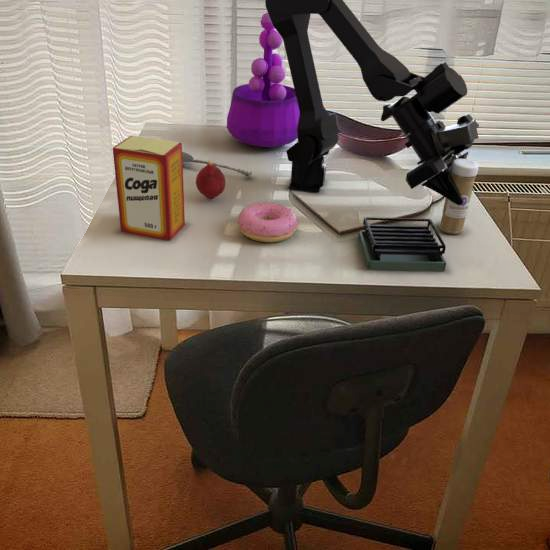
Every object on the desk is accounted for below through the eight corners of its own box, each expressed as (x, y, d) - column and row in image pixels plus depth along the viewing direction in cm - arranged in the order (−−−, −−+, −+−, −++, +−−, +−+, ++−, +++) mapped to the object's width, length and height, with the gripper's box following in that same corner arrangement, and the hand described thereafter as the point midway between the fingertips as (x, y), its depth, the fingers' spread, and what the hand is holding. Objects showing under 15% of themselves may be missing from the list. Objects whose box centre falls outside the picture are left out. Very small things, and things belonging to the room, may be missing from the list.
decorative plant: (221, 131, 157) (221, 5, 141) (290, 128, 161) (298, 6, 145) (234, 157, 141) (236, 19, 125) (311, 154, 145) (321, 20, 130)
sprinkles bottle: (448, 236, 112) (463, 168, 105) (433, 225, 116) (447, 158, 109) (468, 233, 114) (484, 165, 107) (453, 222, 118) (468, 156, 110)
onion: (230, 197, 123) (230, 159, 119) (216, 207, 118) (216, 169, 114) (205, 191, 125) (205, 153, 121) (190, 201, 120) (189, 163, 116)
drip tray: (367, 269, 101) (368, 261, 100) (357, 238, 110) (358, 230, 110) (444, 271, 102) (446, 263, 101) (428, 239, 111) (429, 231, 110)
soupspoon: (169, 159, 141) (154, 169, 135) (167, 145, 139) (152, 155, 134) (256, 173, 134) (244, 185, 129) (256, 158, 132) (243, 170, 127)
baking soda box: (121, 231, 108) (112, 145, 100) (137, 216, 114) (130, 133, 105) (170, 240, 106) (165, 153, 98) (184, 224, 112) (181, 140, 103)
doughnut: (308, 237, 110) (310, 216, 107) (256, 251, 104) (257, 230, 102) (276, 213, 117) (277, 193, 115) (226, 225, 112) (226, 205, 110)
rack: (370, 266, 101) (373, 244, 99) (361, 237, 110) (363, 217, 108) (441, 267, 102) (446, 246, 100) (426, 238, 110) (430, 218, 108)
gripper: (435, 114, 98) (487, 196, 99) (473, 91, 111) (518, 163, 112) (384, 150, 105) (432, 225, 106) (425, 124, 119) (468, 191, 120)
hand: (465, 199), depth 111 cm, fingers closed on sprinkles bottle, 4 cm apart
